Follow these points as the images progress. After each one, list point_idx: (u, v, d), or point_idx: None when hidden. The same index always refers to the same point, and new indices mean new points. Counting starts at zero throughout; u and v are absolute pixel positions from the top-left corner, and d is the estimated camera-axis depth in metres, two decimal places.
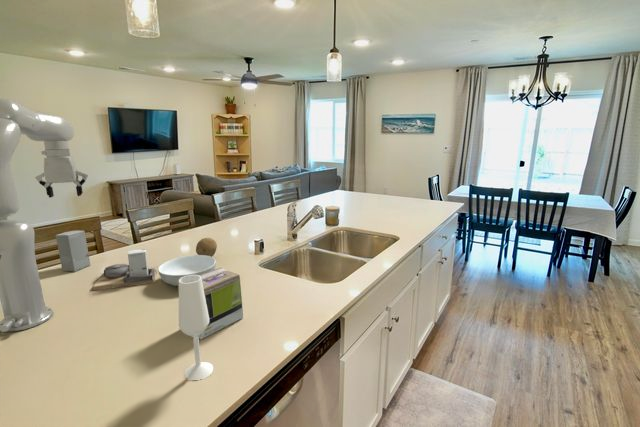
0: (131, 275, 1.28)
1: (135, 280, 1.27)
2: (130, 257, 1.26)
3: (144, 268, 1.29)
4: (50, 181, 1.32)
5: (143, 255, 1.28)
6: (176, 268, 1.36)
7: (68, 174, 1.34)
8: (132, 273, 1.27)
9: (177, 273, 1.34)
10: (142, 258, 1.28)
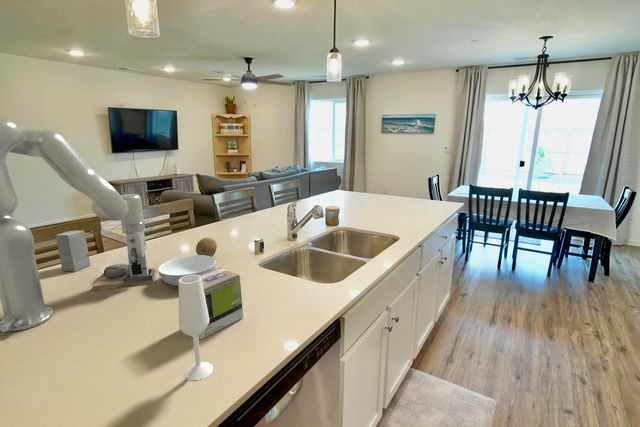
0: (131, 275, 1.28)
1: (135, 280, 1.27)
2: None
3: (144, 268, 1.29)
4: (143, 255, 1.27)
5: None
6: (176, 268, 1.36)
7: (145, 244, 1.32)
8: None
9: (177, 273, 1.34)
10: (142, 258, 1.28)
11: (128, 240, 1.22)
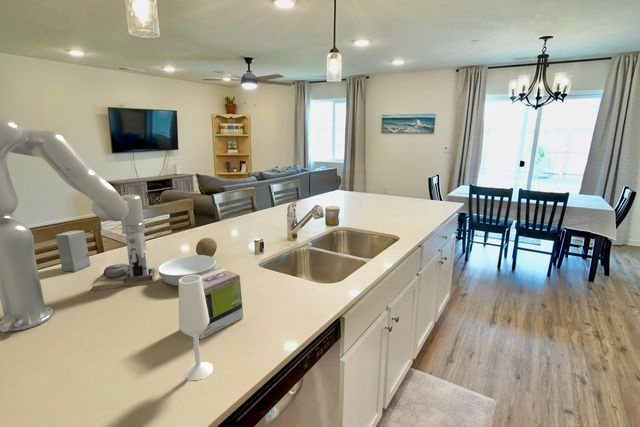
0: (131, 275, 1.28)
1: (135, 280, 1.27)
2: None
3: (144, 268, 1.29)
4: (143, 256, 1.27)
5: None
6: (176, 268, 1.36)
7: (145, 244, 1.32)
8: (132, 273, 1.28)
9: (177, 273, 1.34)
10: (142, 258, 1.28)
11: (128, 241, 1.22)
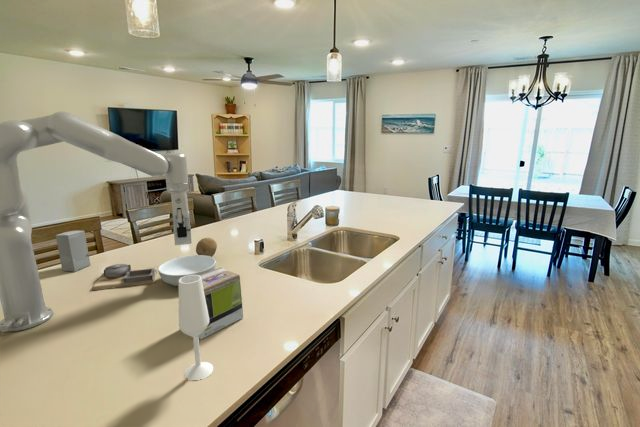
0: (175, 236, 1.24)
1: (135, 280, 1.27)
2: None
3: (188, 230, 1.26)
4: (188, 216, 1.23)
5: None
6: (176, 268, 1.36)
7: None
8: (176, 234, 1.24)
9: (177, 273, 1.34)
10: (187, 219, 1.25)
11: (174, 200, 1.19)
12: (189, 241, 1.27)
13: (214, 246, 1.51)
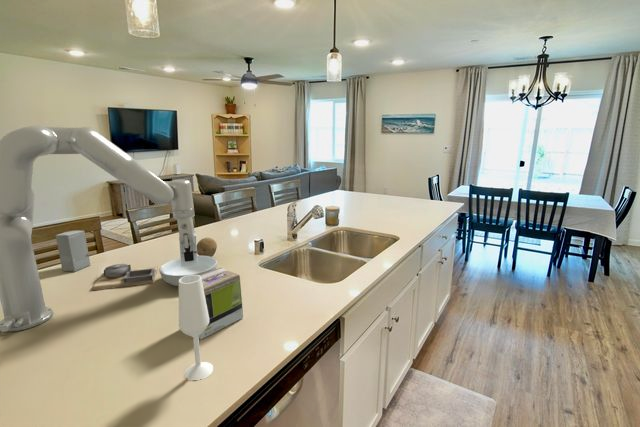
0: (181, 258, 1.27)
1: (135, 280, 1.27)
2: None
3: (194, 252, 1.28)
4: (194, 241, 1.26)
5: None
6: (178, 268, 1.37)
7: None
8: (182, 256, 1.27)
9: (179, 273, 1.35)
10: None
11: (180, 226, 1.22)
12: (195, 263, 1.29)
13: (214, 246, 1.51)
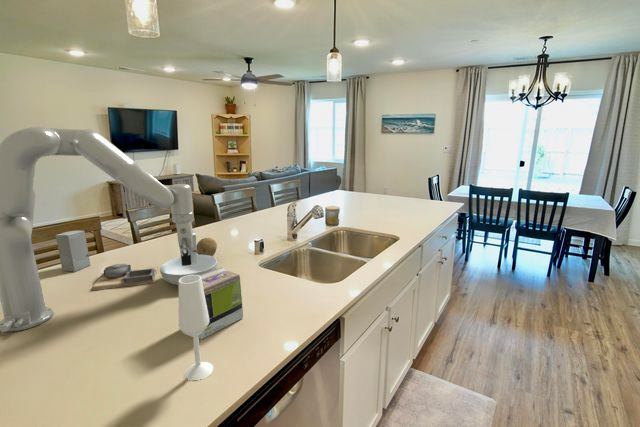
0: None
1: (135, 280, 1.27)
2: None
3: (194, 251, 1.28)
4: None
5: (193, 238, 1.27)
6: (178, 267, 1.37)
7: None
8: None
9: (179, 272, 1.35)
10: (193, 241, 1.27)
11: (179, 230, 1.22)
12: (195, 262, 1.29)
13: (214, 246, 1.51)
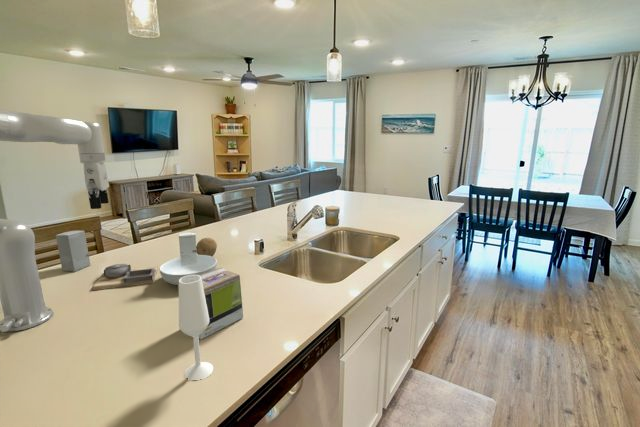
0: (181, 258, 1.27)
1: (135, 280, 1.27)
2: (180, 240, 1.26)
3: (194, 251, 1.28)
4: (103, 188, 1.18)
5: (193, 238, 1.27)
6: (178, 267, 1.37)
7: (107, 179, 1.24)
8: (182, 255, 1.27)
9: (178, 273, 1.35)
10: (193, 241, 1.27)
11: (85, 170, 1.14)
12: (195, 262, 1.29)
13: (214, 246, 1.51)
